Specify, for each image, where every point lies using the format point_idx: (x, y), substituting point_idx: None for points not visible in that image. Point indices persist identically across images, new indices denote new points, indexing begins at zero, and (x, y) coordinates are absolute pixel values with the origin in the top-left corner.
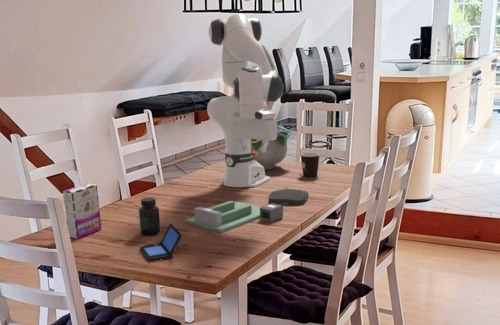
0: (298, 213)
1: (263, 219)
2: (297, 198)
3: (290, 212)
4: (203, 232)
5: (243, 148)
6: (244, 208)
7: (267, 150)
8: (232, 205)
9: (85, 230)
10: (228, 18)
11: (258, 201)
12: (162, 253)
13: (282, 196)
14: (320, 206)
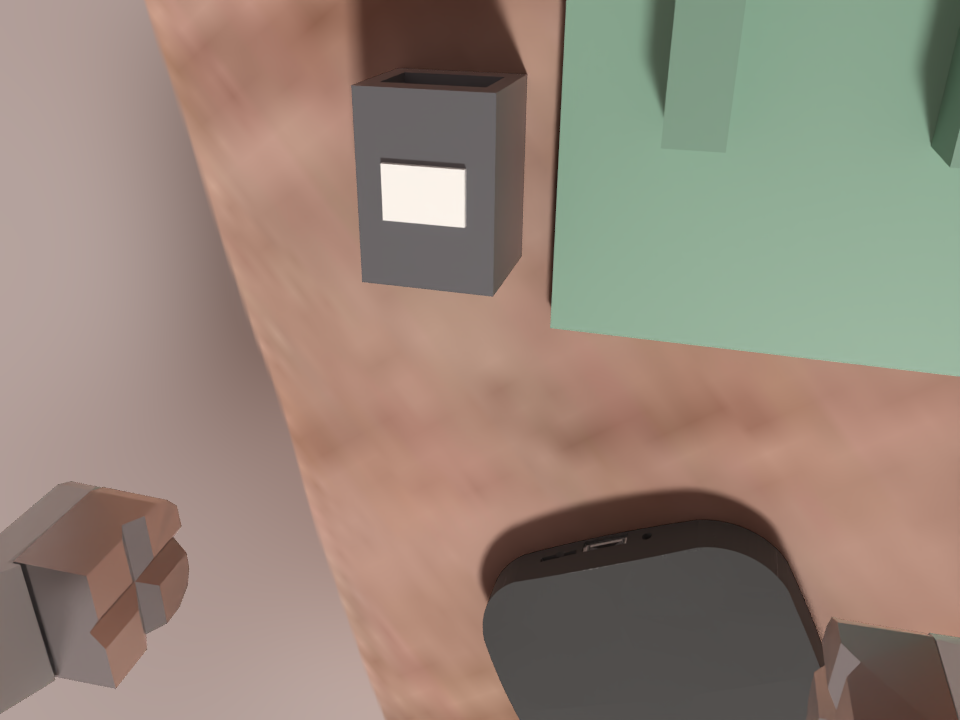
0: (376, 391)
1: (481, 74)
2: (524, 620)
3: (441, 385)
4: None
5: (845, 660)
6: (675, 20)
7: None
8: (950, 118)
9: None
10: None
11: (883, 532)
12: None
13: (656, 616)
14: (361, 591)
